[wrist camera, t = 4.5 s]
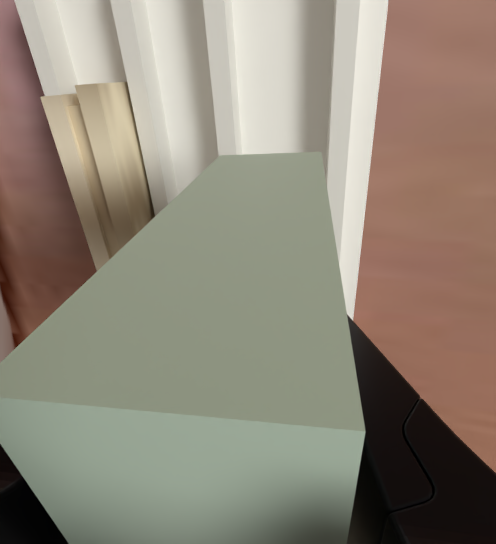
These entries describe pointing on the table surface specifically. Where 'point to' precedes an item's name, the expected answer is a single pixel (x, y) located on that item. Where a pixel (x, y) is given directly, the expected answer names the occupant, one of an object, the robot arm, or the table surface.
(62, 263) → the table surface
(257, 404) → the sage green block
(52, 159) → the table surface
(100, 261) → the offcut bundle
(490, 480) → the robot arm
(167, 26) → the slot rack
